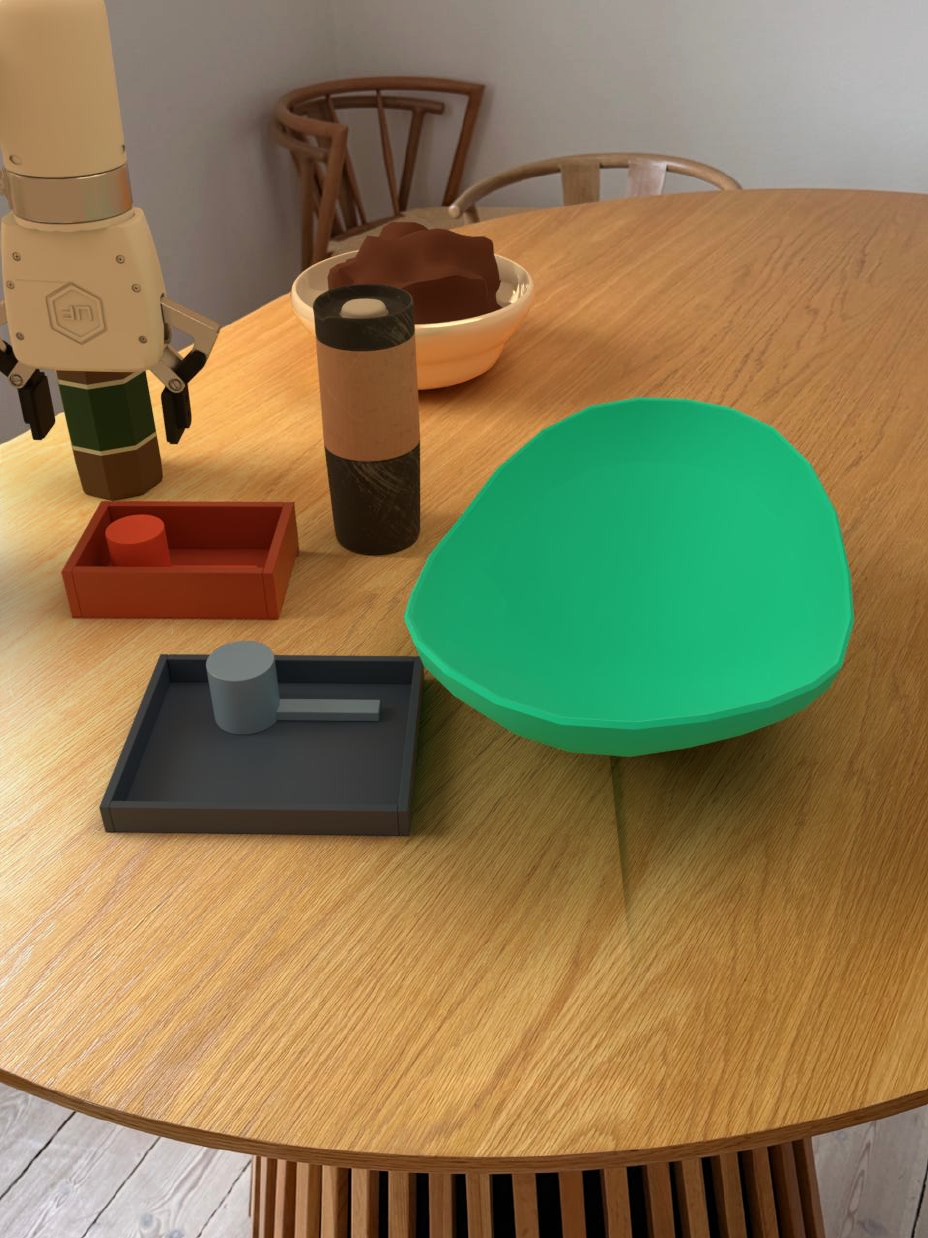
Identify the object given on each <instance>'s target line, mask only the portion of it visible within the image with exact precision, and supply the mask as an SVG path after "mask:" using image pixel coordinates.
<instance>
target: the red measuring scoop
mask: <svg viewBox="0 0 928 1238" xmlns="http://www.w3.org/2000/svg"><path fill="white" fill-rule="evenodd" d="M105 534H106V539H107V544H108V548H109V553H110V558H111V563H112V567H258V566H229V565H171V560H170V555H169V549H168V544H167V538H166V532H165V527H164V523H163V521H162V520H161V519H159V518H157V517H155V516H151V515H132V516H127V517H123V518H121V519H118V520H116V521H114V522H113V523H111V524H110V525H109V526H108V527H107V529H106V533H105Z"/></svg>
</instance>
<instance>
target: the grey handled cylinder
mask: <svg viewBox="0 0 928 1238" xmlns="http://www.w3.org/2000/svg"><path fill="white" fill-rule="evenodd" d="M209 654H210V655H209V657H208V659H207V662H206V668H207V674H208V680H209V686H210V692H211V698H212V704H213V710H214V716H215V721H216V723H217V725H218V726H219V727H220V728H221V729H223V730H224V731H226V732H229V733H232V734H238V735H247V734H254V733H258V732H261V731H263V730H266V729H267V728H269V727H271V726H272V725H273V724H274V723H275V722H276V721H277V720H295V721H379V720H380V714H381V701H380V700H346V699H280V697H279V689H278V681H277V673H276V666H275V658H274V655H275V653H274V652H273V650H272V649H271V647H269V646H268V645H266V644H264V643H262V642H259V641H256V640H255V641H254V640H237V641H232V642H228V643H225V644H223V645H221V646H219V647H217V648H216V649H214V650H213V651H212V652H211V653H209Z"/></svg>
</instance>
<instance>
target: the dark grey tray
mask: <svg viewBox="0 0 928 1238" xmlns="http://www.w3.org/2000/svg"><path fill="white" fill-rule="evenodd" d="M210 654H211V653H209V654H208V653H207V654H201V653H200V654H197V653H196V654H194V653H193V654H192V653H191V654H190V653H160V655H159V656H158V659H157V661H156V663H155V667H154V669H153V672H152V674H151V676H150V679H149V681H148V684H147V687H146V689H145V692H144V694H143V697H142V699H141V701H140V704H139V707H138V709H137V712H136V714H135V716H134V719H133V721H132V724H131V726H130V729H129V731H128V734H127V737H126V739H125V742H124V744H123V747H122V749H121V752H120V754H119V757H118V759H117V762H116V765H115V767H114V769H113V771H112V774H111V777H110V779H109V781H108V784H107V786H106V789H105V791H104V794H103V796H102V799H101V802H100V803H99V805H98V806H99V808H98V809H99V812H100V816H101V820H102V825H103V828H104V829H103V830H104V833H109V834H113V833H115V834H184V835H186V834H187V835H189V834H190V835H260V836H261V835H262V836H263V835H265V836H268V835H270V836H328V837H329V836H334V837H335V836H336V837H337V836H338V837H341V836H342V837H343V836H344V837H404V838H405V837H406V838H407V837H410V834H411V833H410V832H411V823H412V813H413V804H414V793H415V792H414V791H415V781H416V771H417V761H418V753H419V752H418V750H419V740H420V731H421V720H422V711H423V710H422V709H423V699H424V688H425V667H424V665H423V663H422V661H421V658H420V656H419V655H330V654H329V655H325V654H324V655H323V654H320V655H319V654H318V655H317V654H316V655H315V654H314V655H313V654H312V655H311V654H274V658H275V666H276V673H277V681H278V689H279V697H280V699H346V700H380V701H381V714H380V720H379V721H295V720H277V721H276V722H275V723H274V724H273V725H272V726H271V727H269V728H267V729H266V730H263V731H261V732H258V733H254V734H247V735H238V734H232V733H229V732H226V731H224V730H223V729H221V728H220V727H219V726H218V725H217V723H216V721H215V716H214V710H213V704H212V698H211V692H210V686H209V680H208V674H207V668H206V662H207V659H208V657H209V655H210Z"/></svg>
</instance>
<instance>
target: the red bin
mask: <svg viewBox="0 0 928 1238" xmlns="http://www.w3.org/2000/svg"><path fill="white" fill-rule="evenodd" d="M132 515H151V516H155V517H157V518H159V519H161V520H162V521H163V523H164V527H165V532H166V538H167V544H168V549H169V555H170V560H171V565H229V566H258V567H112V563H111V558H110V553H109V548H108V544H107V539H106V534H105V533H106V529H107V527H108V526H109V525H110V524H111V523H113V522H114V521H116V520H118V519H121V518H123V517H127V516H132ZM297 523H298V522H297V515H296V505H295V501H217V500H216V501H215V500H214V501H210V500H209V501H207V500H206V501H205V500H204V501H201V500H200V501H199V500H197V501H196V500H195V501H194V500H192V501H191V500H189V501H187V500H186V501H184V500H183V501H182V500H178V501H177V500H176V501H175V500H101V501H100V502H99V504H98V505H97V508H96V509H95V511H94V513H93V515H92V516H91V518H90V520H89V522H88V524H87V526H86V527H85V529H84V531H83V532H82V534H81V536H80V538H79V539H78V541H77V543H76V545H75V546H74V549H73V550H72V552H71V554H70V555H69V557H68V559H67V561H66V563H65V564H64V566H63V568H62V569H61V572H60V573H61V577H62V581H63V585H64V590H65V594H66V597H67V602H68V606H69V611H70V614H71V619H78V620H80V619H82V620H86V619H88V620H90V619H91V620H92V619H93V620H95V619H96V620H97V619H98V620H205V621H206V620H208V621H209V620H214V621H215V620H219V621H220V620H221V621H224V620H225V621H227V620H228V621H231V620H232V621H279V620H280V617H281V613H282V609H283V606H284V603H285V599H286V595H287V591H288V587H289V584H290V581H291V577H292V574H293V570H294V566H295V562H296V558H298V556H299V552H300V545H299V544H300V543H299V533H298V525H297Z"/></svg>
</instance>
